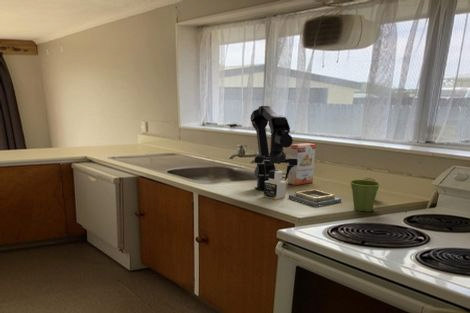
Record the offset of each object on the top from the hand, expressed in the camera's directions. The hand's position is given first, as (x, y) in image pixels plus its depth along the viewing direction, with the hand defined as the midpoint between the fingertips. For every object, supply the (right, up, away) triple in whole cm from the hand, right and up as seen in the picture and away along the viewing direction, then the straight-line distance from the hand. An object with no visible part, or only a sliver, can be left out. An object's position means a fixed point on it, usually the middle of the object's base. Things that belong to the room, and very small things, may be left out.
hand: (275, 179), depth 174 cm
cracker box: (+17, -4, +32) cm, 37 cm away
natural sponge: (+42, -9, +3) cm, 43 cm away
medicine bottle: (0, -8, +1) cm, 8 cm away
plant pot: (+34, -12, -15) cm, 39 cm away
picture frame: (+17, -9, -2) cm, 19 cm away
